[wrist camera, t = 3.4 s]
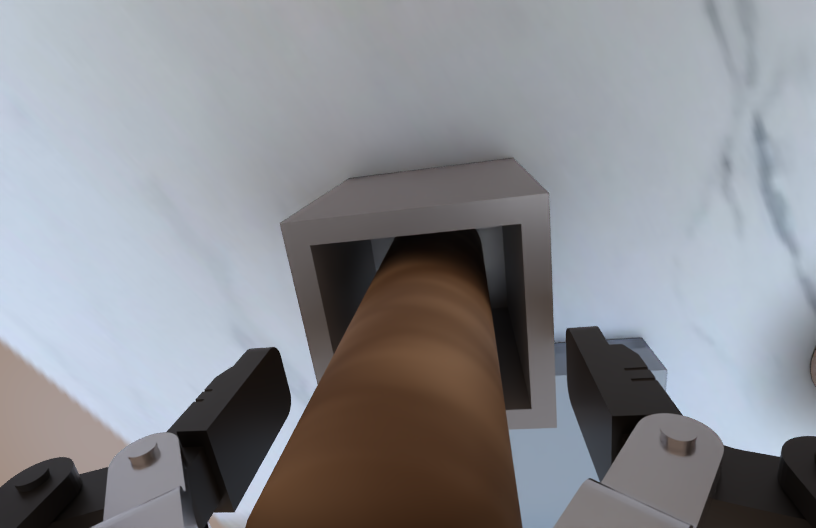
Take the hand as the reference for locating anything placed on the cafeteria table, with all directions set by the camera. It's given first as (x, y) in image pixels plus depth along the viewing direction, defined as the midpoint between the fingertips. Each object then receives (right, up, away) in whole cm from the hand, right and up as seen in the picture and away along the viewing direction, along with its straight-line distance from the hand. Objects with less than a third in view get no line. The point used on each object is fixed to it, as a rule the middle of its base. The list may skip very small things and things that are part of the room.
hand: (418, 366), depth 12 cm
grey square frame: (+1, +4, +10) cm, 11 cm away
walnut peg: (+1, +3, +10) cm, 10 cm away
